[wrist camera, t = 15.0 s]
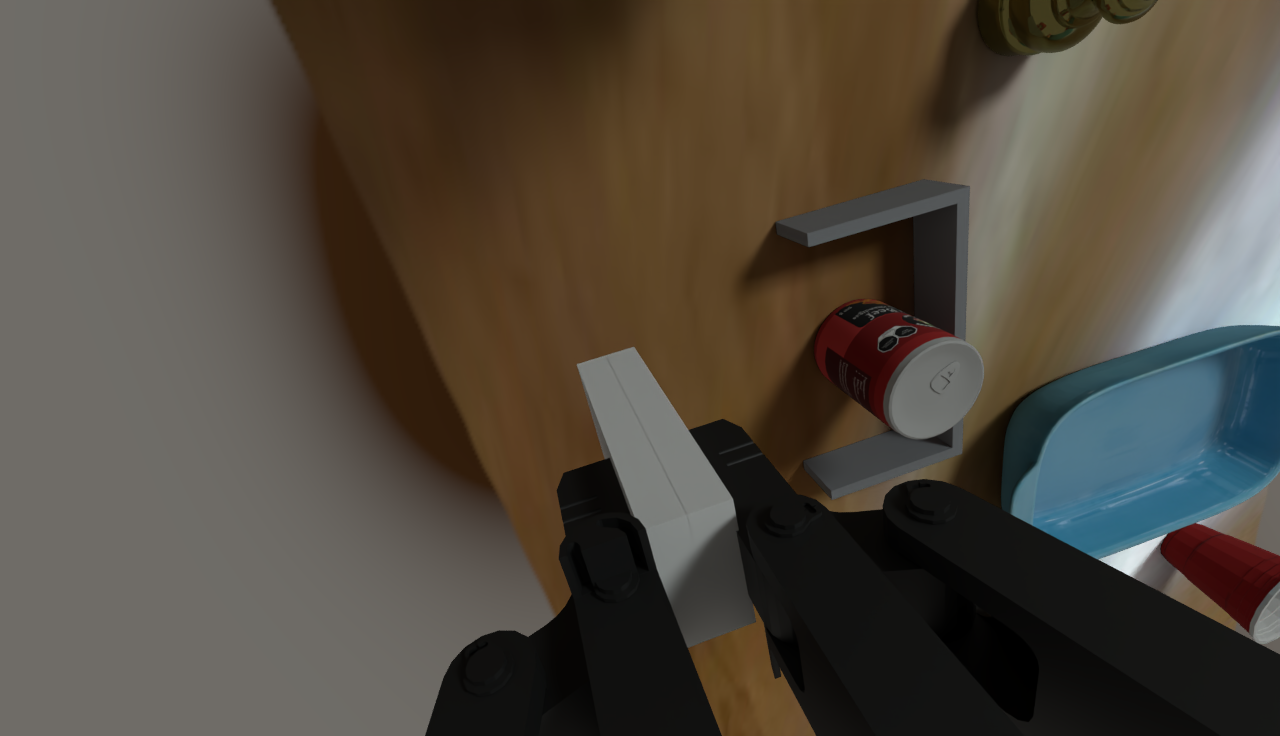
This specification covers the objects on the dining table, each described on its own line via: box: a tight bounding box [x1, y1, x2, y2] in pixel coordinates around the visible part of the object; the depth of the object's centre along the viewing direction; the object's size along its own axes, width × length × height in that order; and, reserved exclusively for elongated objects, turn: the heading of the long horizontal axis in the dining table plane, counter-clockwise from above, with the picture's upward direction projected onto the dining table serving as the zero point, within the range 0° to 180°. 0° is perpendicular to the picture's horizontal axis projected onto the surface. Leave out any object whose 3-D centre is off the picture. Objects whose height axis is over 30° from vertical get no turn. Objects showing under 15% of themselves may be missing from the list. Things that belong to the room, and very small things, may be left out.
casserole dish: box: [1001, 325, 1280, 559], centre depth 62 cm, size 37×22×7 cm, turn 103°
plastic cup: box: [1161, 523, 1280, 644], centre depth 71 cm, size 11×11×12 cm
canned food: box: [814, 299, 984, 439], centre depth 47 cm, size 8×8×11 cm
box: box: [776, 179, 970, 500], centre depth 50 cm, size 24×13×5 cm, turn 13°
